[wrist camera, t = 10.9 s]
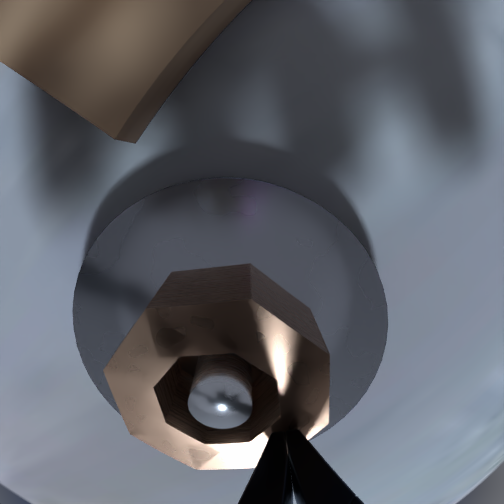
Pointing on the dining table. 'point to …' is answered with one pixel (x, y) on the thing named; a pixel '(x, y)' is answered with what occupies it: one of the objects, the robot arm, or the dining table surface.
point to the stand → (110, 52)
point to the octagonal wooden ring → (221, 342)
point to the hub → (225, 254)
